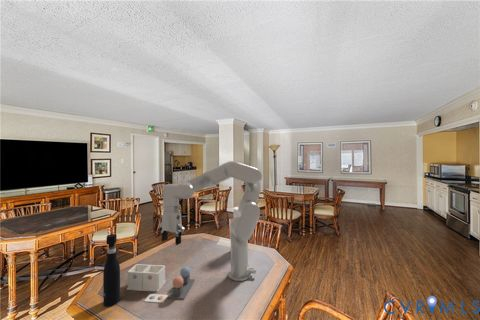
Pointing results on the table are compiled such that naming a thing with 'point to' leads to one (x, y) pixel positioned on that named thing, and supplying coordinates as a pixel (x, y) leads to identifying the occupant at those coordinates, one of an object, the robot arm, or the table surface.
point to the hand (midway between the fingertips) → (171, 242)
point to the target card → (156, 298)
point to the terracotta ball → (178, 282)
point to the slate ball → (185, 272)
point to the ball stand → (181, 289)
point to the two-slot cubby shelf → (146, 277)
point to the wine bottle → (111, 274)
